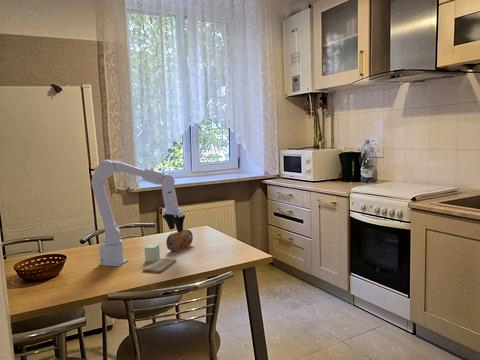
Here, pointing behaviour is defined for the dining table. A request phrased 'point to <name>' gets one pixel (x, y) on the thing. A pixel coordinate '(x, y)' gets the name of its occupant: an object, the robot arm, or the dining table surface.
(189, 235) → the tin
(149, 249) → the block
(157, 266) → the board
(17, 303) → the dining table surface
